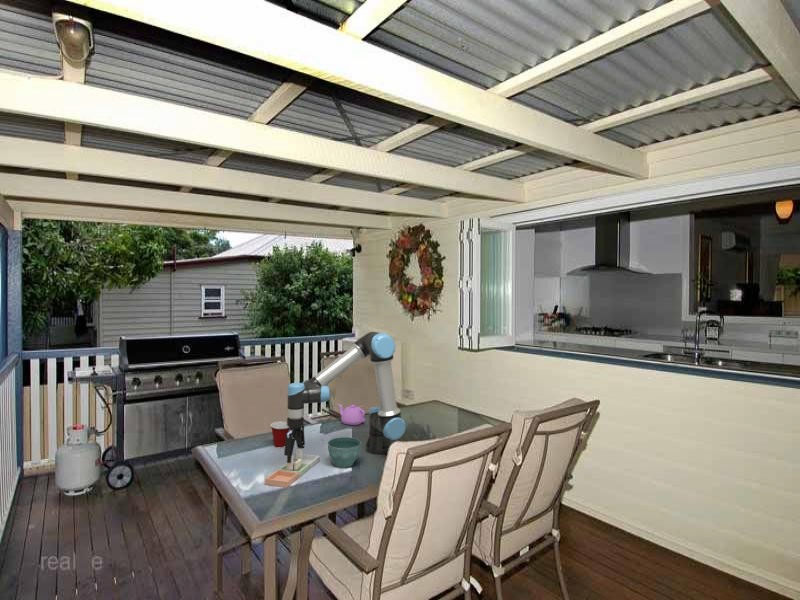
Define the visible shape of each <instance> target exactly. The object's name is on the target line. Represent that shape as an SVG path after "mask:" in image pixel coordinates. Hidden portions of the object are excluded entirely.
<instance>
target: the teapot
mask: <svg viewBox="0 0 800 600" xmlns="http://www.w3.org/2000/svg"><path fill="white" fill-rule="evenodd" d="M337 405H338V406H339V413H340V417H341V419H340V420H341V422H342V423H343V424H344V425H348V426H357V425H361V424H362V423H364V422H365V421H366V418H365V415H366V412H365V410H364V409H362V408H361V407H360V406H356V405H355V404H351V405H350V406H347V407H344V408H343V405H342V404H341V403H338V404H337Z"/></svg>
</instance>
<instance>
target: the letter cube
mask: <svg viewBox="0 0 800 600" xmlns="http://www.w3.org/2000/svg"><path fill="white" fill-rule="evenodd" d="M301 465H302V459H295V457H293V470H291V471H298V472H299V471H300V470H301ZM287 470H289V469H287Z"/></svg>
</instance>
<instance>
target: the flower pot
mask: <svg viewBox="0 0 800 600" xmlns="http://www.w3.org/2000/svg"><path fill="white" fill-rule="evenodd" d="M361 445H362V441H361V440H360V439H359V438H356V437H349V436H348V437H347V436H345V437H344V436H342V437H341V436H340V437H335V438H332V439H329V440H328V441H327V450H328V454H329V457H330V459H331V460H332V462H333V465H334V466H335V467H337V468H350V467H352V466H353V465H354V463H355V461H356V460H357V458H358V456H359V453H360V451H361Z"/></svg>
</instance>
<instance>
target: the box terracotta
mask: <svg viewBox="0 0 800 600" xmlns="http://www.w3.org/2000/svg"><path fill="white" fill-rule="evenodd" d="M299 479H300V478H299V473H296V472H289V471H282V470H278V469H276V470H275V471H274V472H273V473H271V474H270V475H269V476H267V477H266V478H264V485H265V486H266V485H267V486H272V487H280V488H284V489H287V488H289V487H290V486H291V485H292V484H294V483H295V482H296V481H298V480H299Z"/></svg>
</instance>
